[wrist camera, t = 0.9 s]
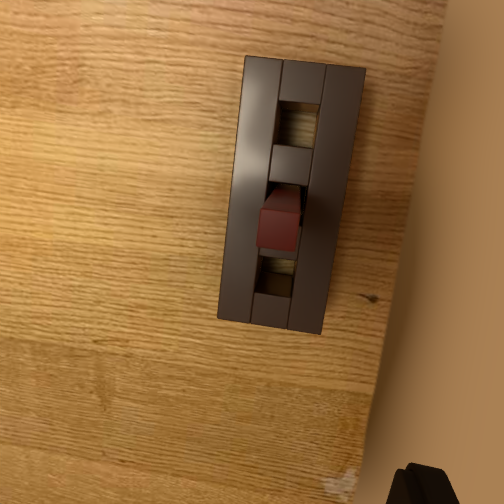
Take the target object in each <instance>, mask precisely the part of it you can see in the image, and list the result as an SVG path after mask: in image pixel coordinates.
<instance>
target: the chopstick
mask: <svg viewBox="0 0 504 504" xmlns="http://www.w3.org/2000/svg"><path fill="white" fill-rule="evenodd" d="M299 221H300V186H295V185H287V184H280V183H279V184H278V185H277V186H276V188H275V189H274V190H273V192H272V193H271V195H270V196H269V197H268V199H267V200H266V202H265V203H264V204H263V206H262V207H261V209H260V214H259V222H258V230H257V238H256V247H261V248H268V249H275V250H282V251H289V252H294V251H295V248H296V241H297V235H298V228H299Z"/></svg>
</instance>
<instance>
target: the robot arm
mask: <svg viewBox="0 0 504 504" xmlns="http://www.w3.org/2000/svg"><path fill="white" fill-rule="evenodd" d="M386 504H459V501H458V499H457V497H456V495H455V492H454V490H453V488H452V486H451V483H450V481H449V479H448V477H447V475H446V473H445V472H444V471H443V470H442V469H439V468H434V467H429V466H425V465H421V464H416V463H409V464H408V465H407V467H406V469H405V470H403V469H397V471H396V473H395V475H394V479H393V482H392V485H391V489H390V493H389V495H388V499H387V502H386Z"/></svg>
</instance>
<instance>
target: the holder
mask: <svg viewBox="0 0 504 504" xmlns="http://www.w3.org/2000/svg"><path fill="white" fill-rule="evenodd" d="M365 75H366V68H362V67H352V66H343V65H334V64H325V63H315V62H306V61H297V60H287V59H284V61H283V59H276V58H267V57H257V56H248V55H246V56H245V60H244V69H243V78H242V88H241V97H240V106H239V116H238V125H237V134H236V144H235V153H234V162H233V172H232V181H231V190H230V200H229V209H228V218H227V228H226V237H225V246H224V256H223V265H222V274H221V284H220V293H219V302H218V312H217V318H218V319H223V320H230V321H236V322H242V323H251V324H255V325H262V326H268V327H274V328H281V329H287V330H293V331H299V332H305V333H312V334H318V335H321V332H322V326H323V320H324V314H325V308H326V303H327V297H328V291H329V285H330V279H331V273H332V268H333V262H334V256H335V250H336V244H337V238H338V233H339V227H340V221H341V215H342V209H343V203H344V198H345V192H346V186H347V180H348V174H349V168H350V163H351V157H352V151H353V145H354V139H355V133H356V128H357V122H358V116H359V110H360V104H361V98H362V93H363V87H364V81H365ZM282 109H287V110H295V111H304V112H312V113H317V118H316V124H315V131H314V138H313V145H312V148H305V147H297V146H289V145H281V144H277V143H278V136H279V128H280V120H281V113H282ZM272 182H277V183H285V184H293V185H301V186H306V191H305V198H304V205H303V212H302V215H300V221H299V228H298V235H297V241H296V248H295V251H294V252H289V251H282V250H275V249H268V248H261V247H256V238H257V230H258V222H259V214H260V209H261V207H262V206H263V204H264V203H265V202H266V200H267V199H268V197H269V196H270V195H271V190H272ZM263 256H266V257H273V258H280V259H287V260H294V261H295V265H294V272H293V276H289V275H282V274H276V273H269V272H261V267H262V259H263Z"/></svg>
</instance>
